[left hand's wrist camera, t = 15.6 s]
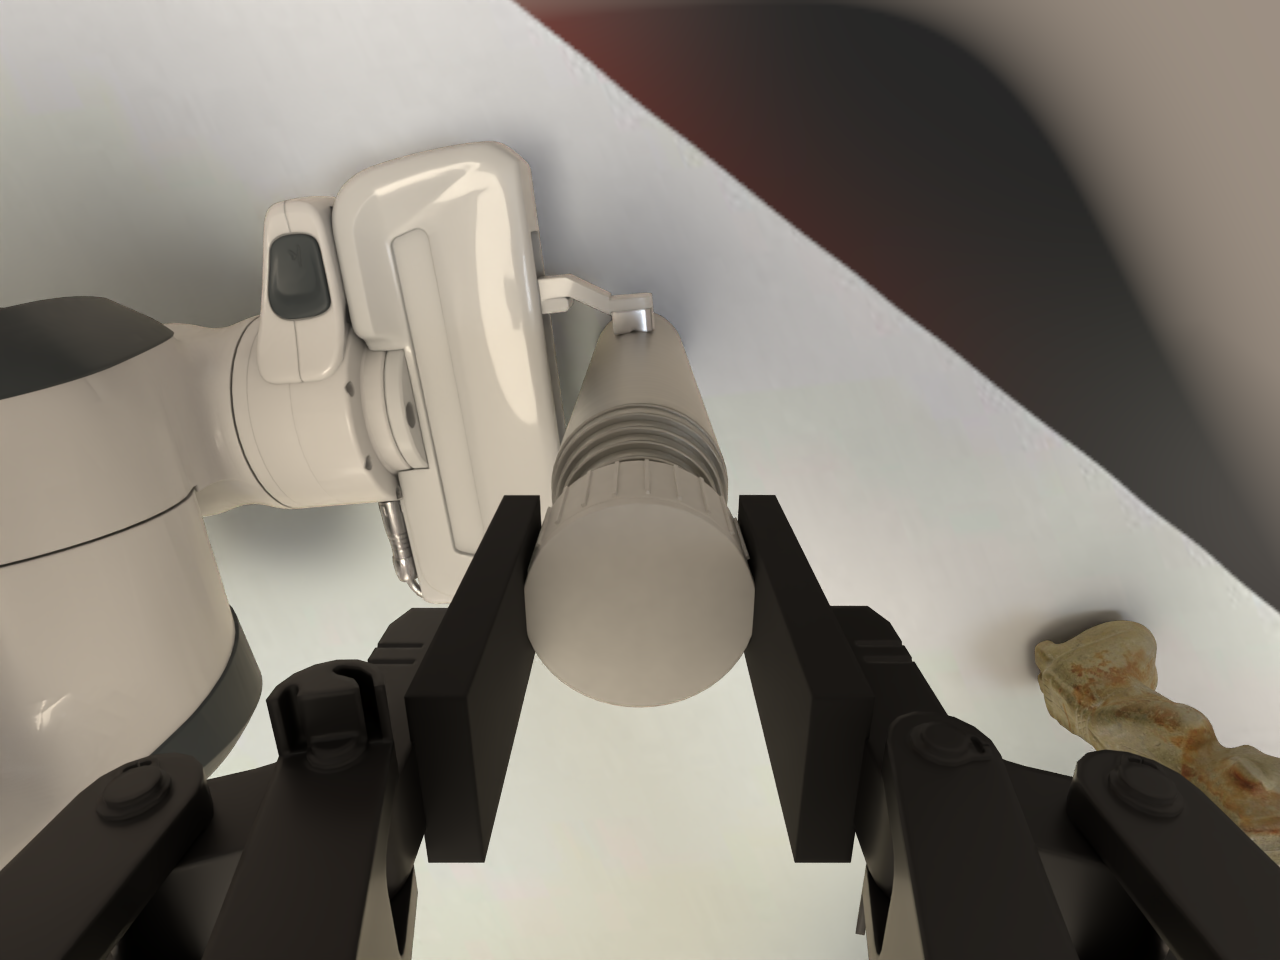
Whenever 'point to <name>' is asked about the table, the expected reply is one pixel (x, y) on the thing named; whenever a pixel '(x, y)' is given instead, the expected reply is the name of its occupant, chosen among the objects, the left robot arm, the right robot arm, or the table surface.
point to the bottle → (639, 411)
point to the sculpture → (1155, 723)
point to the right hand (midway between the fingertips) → (659, 379)
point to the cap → (639, 586)
